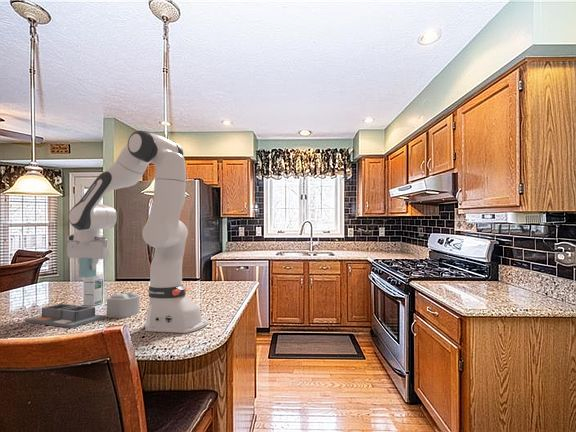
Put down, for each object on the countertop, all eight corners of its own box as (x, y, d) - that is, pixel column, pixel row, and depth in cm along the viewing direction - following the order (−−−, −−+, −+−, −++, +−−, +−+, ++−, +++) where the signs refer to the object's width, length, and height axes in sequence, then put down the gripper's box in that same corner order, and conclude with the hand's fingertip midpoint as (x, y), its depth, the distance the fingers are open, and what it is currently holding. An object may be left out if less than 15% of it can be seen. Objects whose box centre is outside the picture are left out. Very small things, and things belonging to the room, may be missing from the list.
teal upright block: (96, 276, 147) (96, 257, 147) (86, 277, 143) (87, 258, 143) (88, 275, 148) (88, 257, 149) (78, 277, 144) (79, 258, 144)
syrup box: (93, 306, 155) (94, 274, 155) (82, 305, 156) (83, 273, 157) (103, 303, 160) (103, 272, 161) (92, 302, 162) (93, 272, 162)
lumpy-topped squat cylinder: (102, 316, 136) (103, 294, 137) (124, 309, 149) (125, 289, 149) (125, 318, 134) (125, 296, 134) (145, 310, 147) (146, 290, 147)
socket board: (105, 318, 134) (105, 306, 134) (71, 328, 120) (72, 315, 121) (61, 313, 142) (61, 302, 142) (25, 321, 128) (25, 309, 129)
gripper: (113, 236, 146) (112, 269, 145) (77, 236, 153) (77, 267, 152) (100, 236, 140) (99, 270, 139) (64, 236, 147) (63, 269, 146)
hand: (87, 269), depth 146 cm, fingers closed on teal upright block, 4 cm apart
